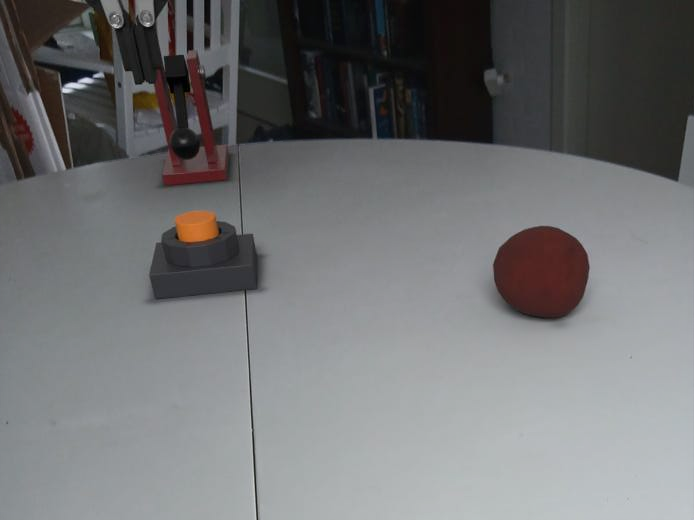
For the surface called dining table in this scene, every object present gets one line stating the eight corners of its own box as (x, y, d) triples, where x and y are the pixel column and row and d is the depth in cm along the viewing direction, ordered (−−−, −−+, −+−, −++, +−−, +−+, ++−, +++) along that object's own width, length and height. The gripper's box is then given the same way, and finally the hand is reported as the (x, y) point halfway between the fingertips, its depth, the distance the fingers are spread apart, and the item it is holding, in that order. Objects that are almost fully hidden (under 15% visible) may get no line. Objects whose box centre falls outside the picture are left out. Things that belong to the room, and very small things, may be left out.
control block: (155, 299, 88) (143, 254, 85) (161, 266, 94) (151, 222, 91) (257, 288, 89) (248, 244, 86) (257, 256, 95) (249, 213, 92)
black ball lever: (204, 164, 109) (197, 144, 106) (174, 167, 109) (167, 146, 105) (193, 73, 111) (187, 50, 108) (165, 76, 111) (157, 53, 108)
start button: (177, 246, 87) (172, 226, 86) (180, 232, 90) (175, 212, 89) (218, 242, 88) (214, 222, 86) (220, 228, 90) (215, 208, 89)
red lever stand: (226, 180, 113) (203, 63, 105) (164, 185, 112) (136, 68, 104) (228, 154, 120) (207, 43, 112) (170, 160, 119) (144, 48, 112)
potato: (528, 284, 87) (528, 202, 82) (605, 309, 83) (609, 224, 78) (471, 312, 83) (467, 227, 79) (548, 339, 79) (549, 251, 74)
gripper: (194, -217, 73) (239, 65, 85) (-17, -212, 71) (60, 75, 83) (188, -216, 67) (237, 86, 79) (-41, -210, 65) (45, 97, 78)
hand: (146, 80), depth 81 cm, fingers closed
